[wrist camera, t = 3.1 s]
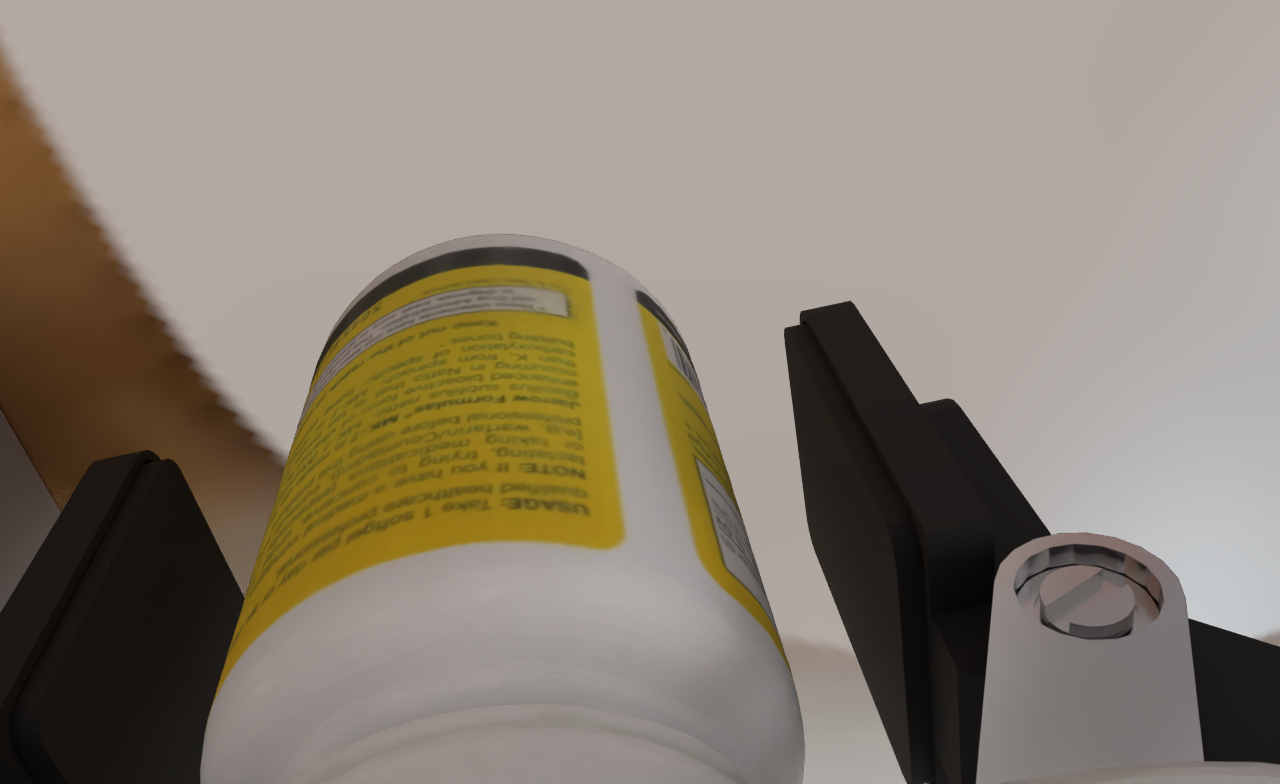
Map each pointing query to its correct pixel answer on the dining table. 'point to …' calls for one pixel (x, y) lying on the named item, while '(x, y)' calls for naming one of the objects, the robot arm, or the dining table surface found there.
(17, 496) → the block
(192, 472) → the dining table surface
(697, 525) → the supplement bottle
